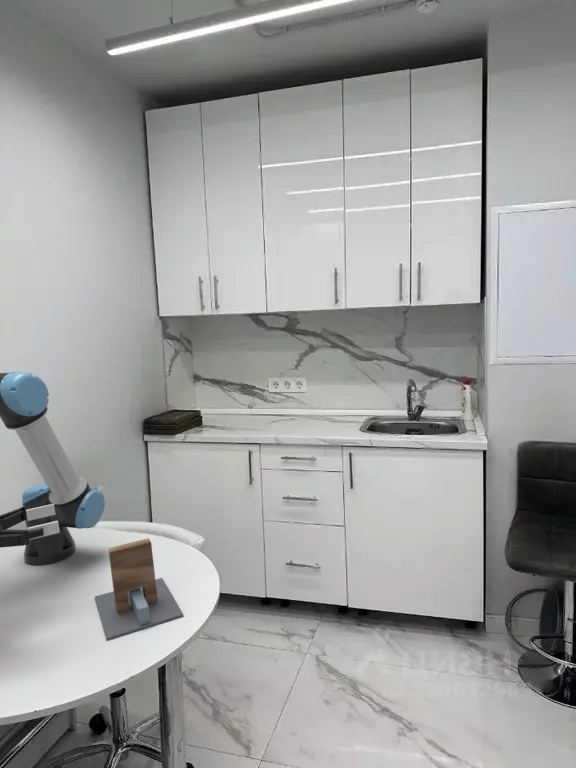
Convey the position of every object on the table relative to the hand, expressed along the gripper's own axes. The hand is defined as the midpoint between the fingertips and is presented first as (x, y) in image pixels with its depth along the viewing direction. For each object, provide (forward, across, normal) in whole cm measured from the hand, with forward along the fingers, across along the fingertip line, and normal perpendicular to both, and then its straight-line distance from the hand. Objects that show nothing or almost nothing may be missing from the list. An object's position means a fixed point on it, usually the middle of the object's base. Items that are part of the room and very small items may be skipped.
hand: (56, 517), depth 134 cm
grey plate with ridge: (+15, +6, -26) cm, 31 cm away
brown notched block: (+15, +6, -25) cm, 30 cm away
